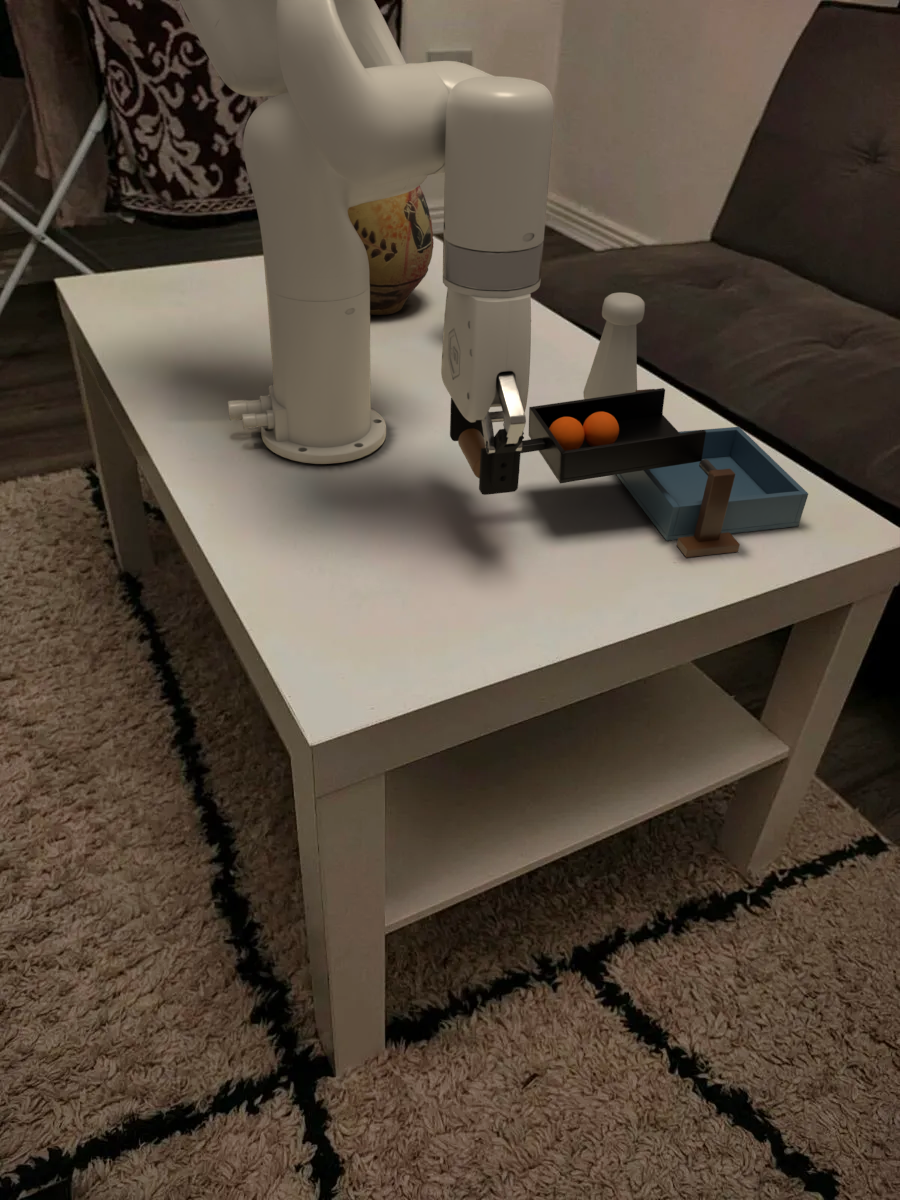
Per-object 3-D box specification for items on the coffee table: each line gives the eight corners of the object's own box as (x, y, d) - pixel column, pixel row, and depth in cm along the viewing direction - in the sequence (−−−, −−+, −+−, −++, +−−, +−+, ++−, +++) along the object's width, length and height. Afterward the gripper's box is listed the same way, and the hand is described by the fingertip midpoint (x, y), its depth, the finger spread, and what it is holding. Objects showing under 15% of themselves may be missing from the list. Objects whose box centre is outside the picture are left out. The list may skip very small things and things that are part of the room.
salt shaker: (632, 429, 102) (652, 309, 94) (578, 422, 103) (594, 303, 95) (634, 405, 107) (654, 290, 99) (583, 399, 108) (599, 284, 100)
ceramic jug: (429, 328, 123) (438, 62, 105) (308, 322, 122) (296, 54, 104) (433, 282, 136) (441, 40, 118) (324, 277, 136) (315, 33, 118)
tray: (666, 540, 85) (673, 507, 83) (611, 468, 95) (616, 436, 93) (798, 526, 88) (808, 493, 86) (731, 457, 98) (739, 426, 96)
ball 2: (605, 461, 85) (582, 441, 83) (592, 444, 87) (570, 425, 85) (631, 435, 84) (609, 414, 82) (617, 418, 86) (596, 398, 84)
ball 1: (561, 466, 84) (549, 438, 82) (549, 449, 86) (538, 421, 84) (594, 449, 84) (583, 420, 82) (581, 432, 86) (570, 404, 84)
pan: (479, 496, 80) (478, 466, 78) (453, 446, 87) (452, 417, 85) (701, 461, 84) (706, 431, 82) (660, 416, 90) (663, 387, 89)
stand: (686, 557, 83) (703, 483, 79) (606, 454, 98) (617, 386, 93) (738, 551, 84) (758, 478, 80) (651, 450, 99) (664, 383, 94)
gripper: (419, 233, 79) (418, 424, 89) (474, 304, 65) (465, 520, 75) (506, 229, 80) (495, 417, 91) (578, 298, 67) (556, 510, 77)
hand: (482, 463), depth 83 cm, fingers open, 9 cm apart
